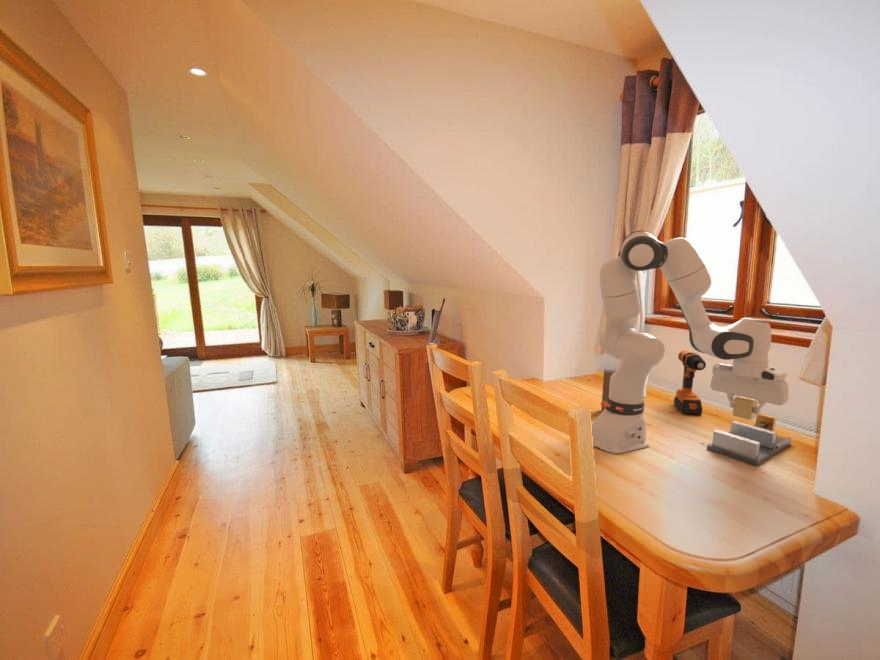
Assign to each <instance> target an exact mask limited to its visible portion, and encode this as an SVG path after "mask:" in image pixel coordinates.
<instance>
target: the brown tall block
mask: <svg viewBox="0 0 880 660" xmlns="http://www.w3.org/2000/svg"><path fill="white" fill-rule="evenodd" d="M615 372H617V371H616V370H613V369H604V371H603V382H602V395H601V397H602V398H601V402H602V401H605V402H606V400H607V398H608V396H609V386H610V377H611V375H612V374H613V373H615ZM604 409H605V407H602V406H601V413H602V412H603V410H604ZM601 413H600V414H601Z"/></svg>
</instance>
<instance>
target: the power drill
mask: <svg viewBox="0 0 880 660" xmlns="http://www.w3.org/2000/svg"><path fill="white" fill-rule="evenodd" d="M677 357H678V358H677V359H678V360H679V361H680V362H681V363H682V365H683V376H682V388H679V389H677V390H676V392H675V396H674V399H673V403H674V405H675V407H676V408H677V409H678V410H679V411H680V413H682V414H695V415H702V414H703V406H702V401H701V398H700V397H699V396H698V395H697V394H696V393H695V392H693V391H692V390H693V384H694V378H695V376H696V375H695V373H696V372H697V371H702V370H705V368H706V366H707V363H706V362H705V360H704V359H703V358H702V357H701V356H700V354H698V353H696V352H692V351H690V350H687V349H685V350H684V349H683V350H682V351H680V352H679V353H678V356H677Z"/></svg>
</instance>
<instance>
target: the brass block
mask: <svg viewBox="0 0 880 660" xmlns="http://www.w3.org/2000/svg"><path fill="white" fill-rule="evenodd" d="M733 399H734V407H733V408H732V416H733V417H737V418H741V419H744V420H747V421H752V420H754V419H756V418H757V414H755V413H753V411H754V410H753V408H754V407H758V400H754V399H750V398H745V397H741V396H734V397H733Z"/></svg>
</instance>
